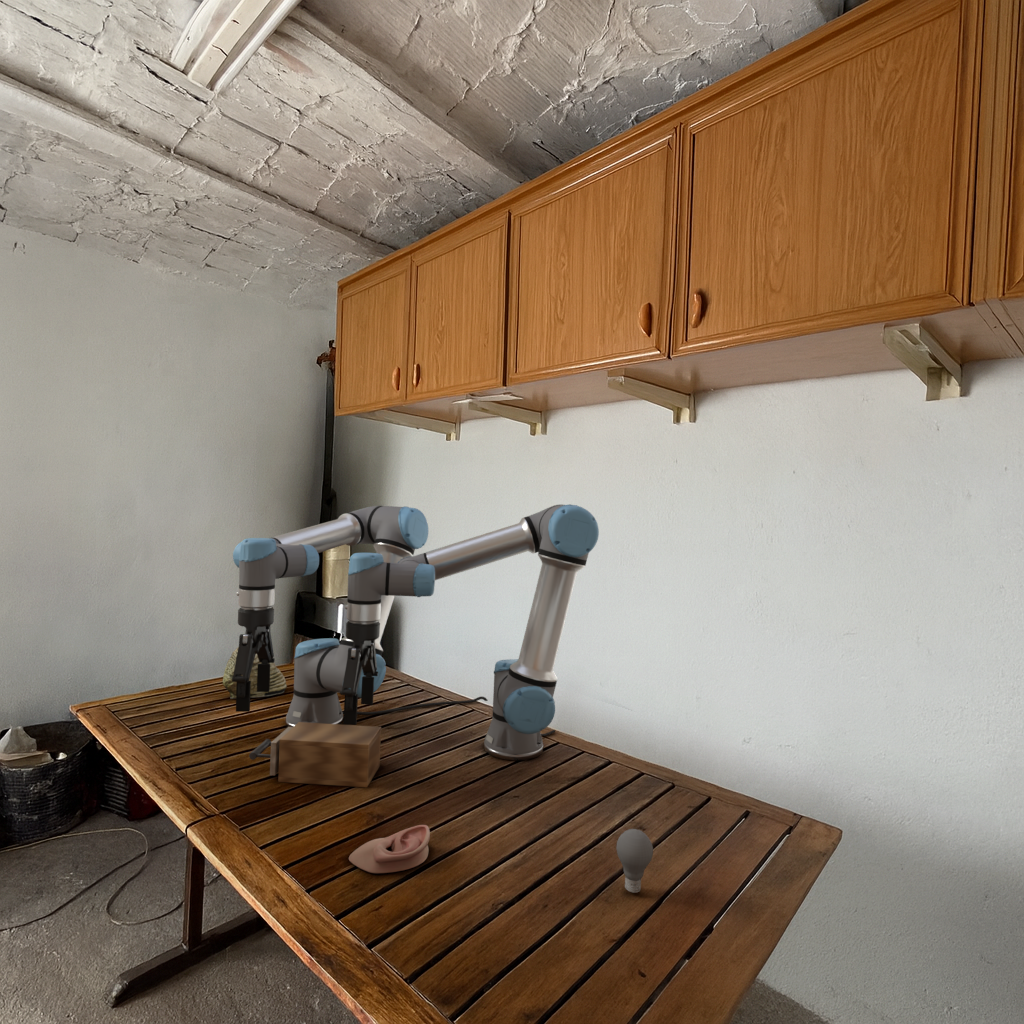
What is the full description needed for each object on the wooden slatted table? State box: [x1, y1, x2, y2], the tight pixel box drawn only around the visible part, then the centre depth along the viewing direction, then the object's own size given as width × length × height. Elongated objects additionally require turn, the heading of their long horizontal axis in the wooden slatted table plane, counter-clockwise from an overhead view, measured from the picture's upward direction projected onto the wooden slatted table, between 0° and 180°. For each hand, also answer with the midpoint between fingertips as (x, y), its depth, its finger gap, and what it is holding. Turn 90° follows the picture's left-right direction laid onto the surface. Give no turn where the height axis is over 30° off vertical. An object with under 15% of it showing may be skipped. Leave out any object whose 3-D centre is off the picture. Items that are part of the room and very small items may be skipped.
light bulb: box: [615, 828, 654, 894], centre depth 106 cm, size 6×6×10 cm
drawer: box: [248, 727, 293, 776], centre depth 145 cm, size 24×10×7 cm, turn 88°
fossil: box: [222, 647, 288, 699], centre depth 198 cm, size 9×18×15 cm, turn 132°
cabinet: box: [277, 722, 382, 788], centre depth 145 cm, size 20×11×10 cm, turn 88°
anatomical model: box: [348, 824, 431, 874], centre depth 113 cm, size 13×4×12 cm
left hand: (253, 701), depth 143 cm, fingers open, 13 cm apart
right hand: (358, 713), depth 144 cm, fingers open, 13 cm apart
